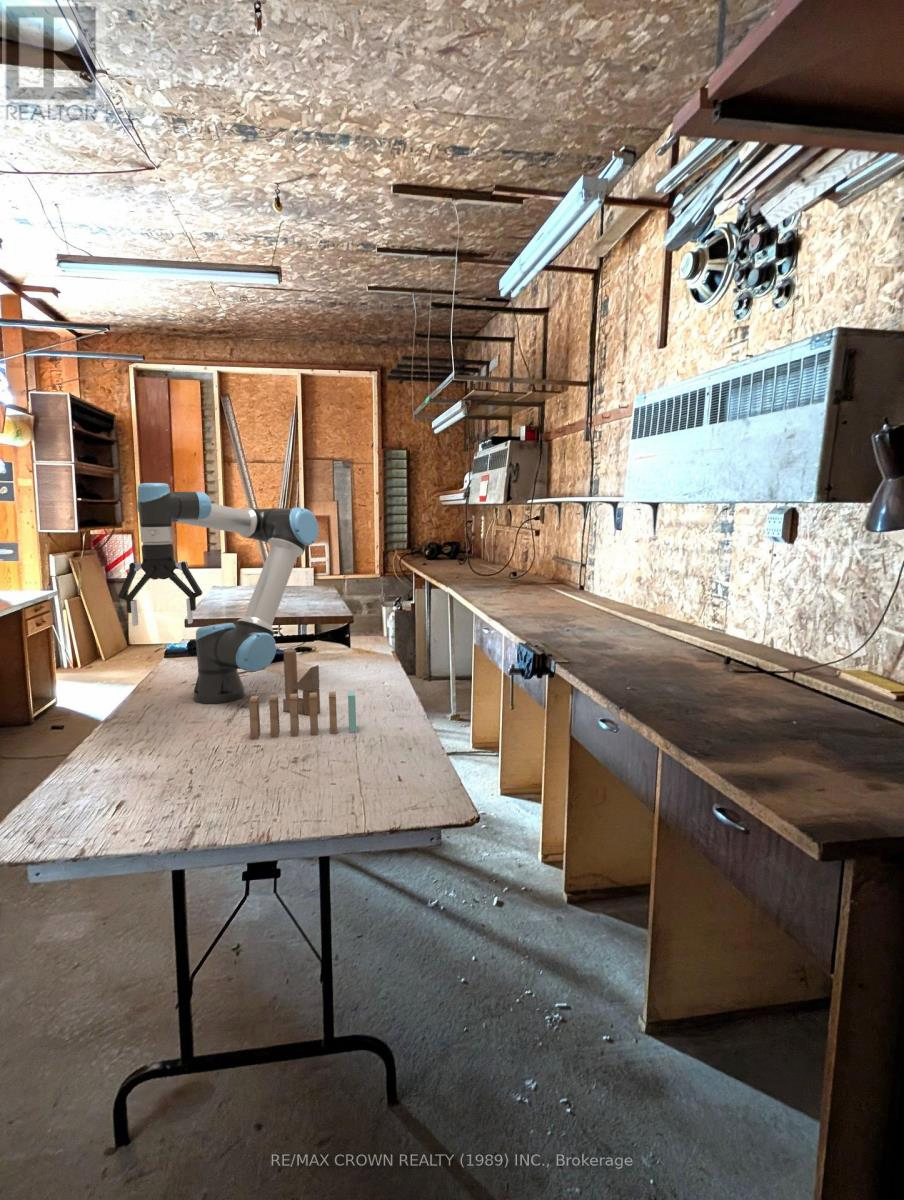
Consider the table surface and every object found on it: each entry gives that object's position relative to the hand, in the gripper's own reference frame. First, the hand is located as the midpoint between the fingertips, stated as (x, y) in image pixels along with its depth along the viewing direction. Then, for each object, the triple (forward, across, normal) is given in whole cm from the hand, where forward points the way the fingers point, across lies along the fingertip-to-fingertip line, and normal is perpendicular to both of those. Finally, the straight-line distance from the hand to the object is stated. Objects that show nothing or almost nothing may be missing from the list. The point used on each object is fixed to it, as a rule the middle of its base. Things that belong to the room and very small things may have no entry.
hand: (163, 624), depth 172 cm
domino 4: (+29, +38, -11) cm, 49 cm away
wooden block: (+29, +34, +7) cm, 45 cm away
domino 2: (+29, +28, -11) cm, 42 cm away
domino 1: (+29, +23, -11) cm, 38 cm away
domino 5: (+29, +43, -11) cm, 53 cm away
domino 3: (+29, +33, -11) cm, 45 cm away
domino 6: (+29, +48, -11) cm, 57 cm away
